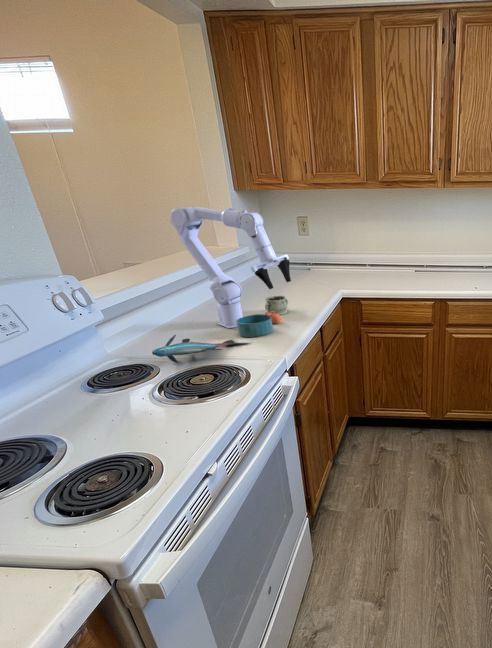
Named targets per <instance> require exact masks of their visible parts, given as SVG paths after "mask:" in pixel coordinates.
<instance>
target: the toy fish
mask: <svg viewBox="0 0 492 648" xmlns="http://www.w3.org/2000/svg"><path fill="white" fill-rule="evenodd" d="M264 315H269V316H271V317H272V323H273V324H276V325H277V324H278V325H279V324H280V323H281V322H282V316H281V315H278V314H275V312H273V311H271V313H268V312H267V311H265V312H264Z"/></svg>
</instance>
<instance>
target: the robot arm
mask: <svg viewBox="0 0 492 648" xmlns="http://www.w3.org/2000/svg"><path fill="white" fill-rule="evenodd" d="M206 220H208V221H214V222H215V221H216V222H222V223H223V225H224V226H225V227H230V228H234V229H241V230H243V231H244V232H246V234H247V236H248V237H249V239H250V241H251V244H252V246H253V248H254V250H255V252H256V254H257V256H258V259H259V261H260V263H257V264H253V265H251V266H250V269H251V272H252V273H254V275H255V276H256V277H257V278H258V279H260V280H261V281H262V282H263V284H264V285H266V287H267V288H268V290H272V289H274V285H273V282H272V281H271V278H270V276H269V272H268V268H269V267H272V266H274V265H277V267H278V269H279V270H280V272H281V274H282V275H283V278H284V279H285V282H286V283H290V282H292V280H291V279H292V278H291V273H290V265H291V263H290V257H289V254H288V253H285V254H282V255H279V256H277V254H276V252H275V250H274V248H273V246H272V243H271V241H270V239H269V236H268V235H267V234H268V233H267V232H266V229H265V227H264V225H265V220H264V218H263V216H262V214H260V213H259V212H256V211H252V212H248V210H245V209H244V210H238V209H235V207H228V208H225V209H224V210H222V211H221V210H216V209H212V208H207V207H205V206H190V207H174V208H173V209H172V210H171V212H170V219H169V221H170V224H171V225H172V226H173V227H174V229H175V230H176V233H177V236H178V239H179V240H180V242H181V244H182V245H183V246H184V248H185V249H186V250H187V252H188V253H189V254H190V255H191V257H192V258H193V259H194V261H195V262H196V264H197V265H198V266H199V267H200V269H201V270H202V271H203V273H204V274H205V275H206V277H207V278H208V280H209V281H210V286H209V289H210V291H211V293H212V295H213V298H214V300H215V301H216V302H217V307H216V310H217V314H218V318H219V322H218V323H217V325H218V326H222V327H224V328H227V329H232V328H237V324H236V320H237V319H239V318H242V317H244V314H243V309H242V304H241V297H242V295H243V288H242V286H241V285H240V283H238V282H236V281H235V280H234V279H233V277H231V276H229V275H227V274H225V273H224V271H223V270H222V269H221V268H220V266H219V265H218V263H217V262H216V260H215V259H214V258H213V256H212V255H211V254H210V252H209V251H208V249H207V248H206V247H205V246H204V244H203V243H202V241H201V240H200V238H199V237H198V235H199V232H200V230H201V227H202V225H203V223H204V221H206Z"/></svg>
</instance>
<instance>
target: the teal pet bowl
mask: <svg viewBox="0 0 492 648" xmlns="http://www.w3.org/2000/svg"><path fill="white" fill-rule="evenodd" d="M236 324H237V327H236V328H237V329H236V330H237V333H238V335H239V336H241V337H243V338H258V337H263V336H267V335H269V334H271V333H272V332H273V331H274V325H273V324H274V323H272V317H271V316H269V315H265V314H264V313H263V314H250V315H249V314H248V315H244V316H243V317H242V318H239V319H237V320H236Z"/></svg>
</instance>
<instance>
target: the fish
mask: <svg viewBox="0 0 492 648" xmlns="http://www.w3.org/2000/svg"><path fill="white" fill-rule="evenodd" d="M176 336H177V334H174V335H173V336H171V337H170V338H169V340H168V341H167V342H166V344H165V345H164V346H161V347H159V348H155V349H153V350H152V351H151V353H152V355H153V356H156V357H159V358H162V357H163V358H164V357H167V358H168V360H170V361H171V362H173V363H179V361H178V360H177V358H175V356H187V355H192V354H197V353H202V352H207V351H223V349H222V348H220V347H222V346H227V345H228V346H229V345H248V344H250V342H249V343H247V342H236V341H234V340H232V339H229V340H228V339H227V340H225V341H223V342H220V343H219V342H218V343H209V342H201V341H200V342H199V341H191V339H190V338H183V339H182V340H181V342H178V343H174V344H172V343H173V341H174V340H175V338H176Z"/></svg>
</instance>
